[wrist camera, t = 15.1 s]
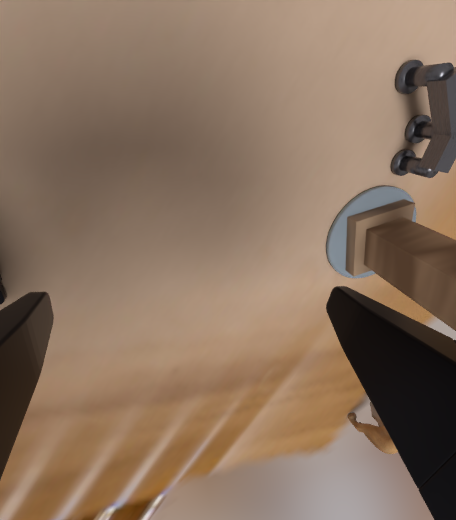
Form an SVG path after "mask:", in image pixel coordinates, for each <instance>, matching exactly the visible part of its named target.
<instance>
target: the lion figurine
mask: <svg viewBox="0 0 456 520" xmlns="http://www.w3.org/2000/svg"><path fill="white" fill-rule="evenodd" d="M370 406H371V412H372V417H373V418H374V419H375V420H376V421H377V422H378V425H379V427H378V426H374V425H371V424H362V423H360V422H359V423H358V422H357V421H356V414H355V413H350V414H349V415H348V419H349V420H350V422H351V423H352V424H353V425H354V426H355V428H356V429H357V430H358V431H359V432H363V433H364V434H365V435H366V436H367V438H368V439H369V440H370V441H371V442H372V443H373V444H374V445H375V446H376V447H377V448H378V449H379V450H381V451H382V452H384V453H387V454H394V453H397V452H398V451H397V449H396V447H395V445H394V443H393V441H392V440H391V438H390V436H389V434H388V432H387V430H386V428H385V427H384V425H383V423H382V421H381V419H380V417H379V415H378V414H377V412H376V410H375V408H374V406H373V404H372V402H370Z"/></svg>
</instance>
